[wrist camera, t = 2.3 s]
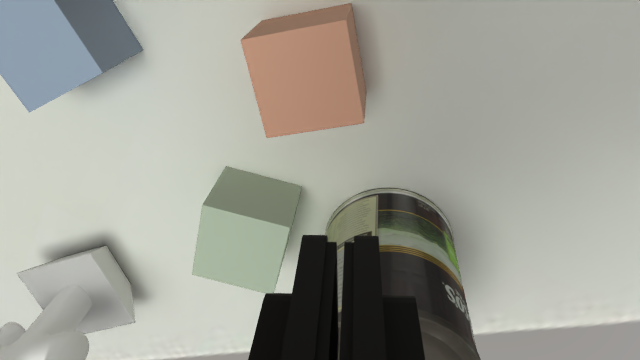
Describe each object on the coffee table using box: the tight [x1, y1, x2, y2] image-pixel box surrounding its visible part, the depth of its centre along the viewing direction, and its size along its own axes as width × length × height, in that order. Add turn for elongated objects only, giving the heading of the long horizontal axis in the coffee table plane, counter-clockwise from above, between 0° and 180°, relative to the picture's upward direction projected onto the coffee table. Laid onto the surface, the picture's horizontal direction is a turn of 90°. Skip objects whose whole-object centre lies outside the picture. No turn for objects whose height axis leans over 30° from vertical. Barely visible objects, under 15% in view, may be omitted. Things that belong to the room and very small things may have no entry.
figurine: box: [0, 246, 135, 360], centre depth 39 cm, size 7×9×15 cm
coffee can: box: [325, 188, 480, 360], centre depth 35 cm, size 10×10×14 cm
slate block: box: [0, 0, 143, 112], centre depth 33 cm, size 6×6×6 cm
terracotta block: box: [241, 3, 366, 138], centre depth 32 cm, size 6×6×6 cm
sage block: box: [192, 166, 302, 293], centre depth 38 cm, size 6×6×6 cm
